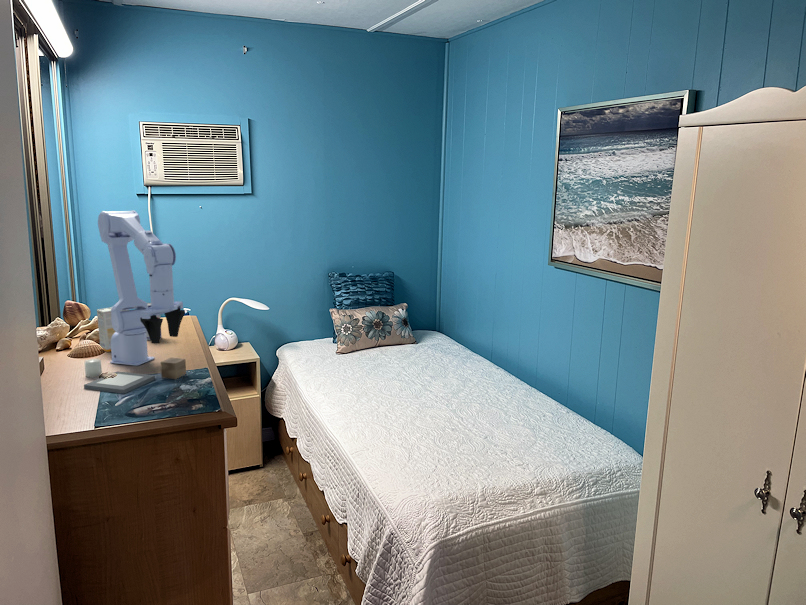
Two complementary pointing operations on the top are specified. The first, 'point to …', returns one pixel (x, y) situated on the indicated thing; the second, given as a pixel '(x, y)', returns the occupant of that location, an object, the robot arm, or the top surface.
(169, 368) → the walnut block
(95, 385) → the mat
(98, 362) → the white capsule cylinder
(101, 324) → the supplement box
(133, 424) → the top surface
